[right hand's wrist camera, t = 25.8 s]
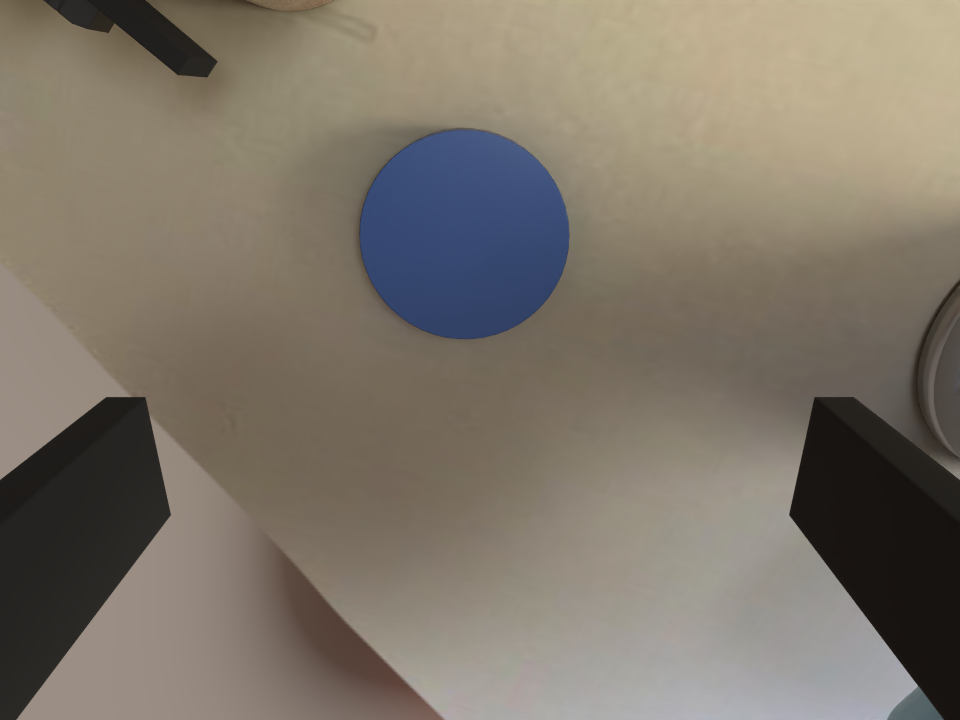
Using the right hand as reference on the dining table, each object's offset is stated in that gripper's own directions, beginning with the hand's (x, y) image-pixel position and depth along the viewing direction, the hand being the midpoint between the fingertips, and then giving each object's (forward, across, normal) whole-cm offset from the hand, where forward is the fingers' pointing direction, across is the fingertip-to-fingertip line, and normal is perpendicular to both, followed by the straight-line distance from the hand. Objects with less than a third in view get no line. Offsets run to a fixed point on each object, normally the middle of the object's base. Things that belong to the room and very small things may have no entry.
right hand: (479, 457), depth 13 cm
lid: (+20, +1, 0) cm, 20 cm away
